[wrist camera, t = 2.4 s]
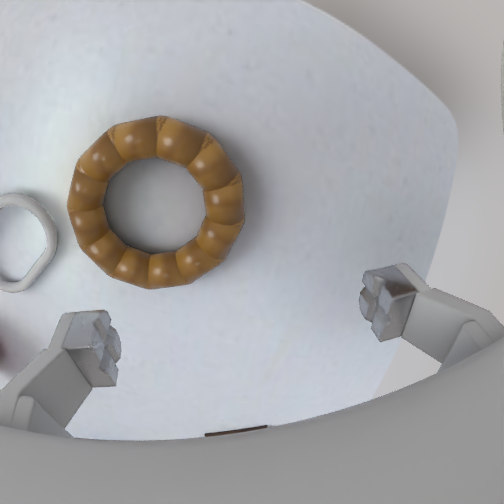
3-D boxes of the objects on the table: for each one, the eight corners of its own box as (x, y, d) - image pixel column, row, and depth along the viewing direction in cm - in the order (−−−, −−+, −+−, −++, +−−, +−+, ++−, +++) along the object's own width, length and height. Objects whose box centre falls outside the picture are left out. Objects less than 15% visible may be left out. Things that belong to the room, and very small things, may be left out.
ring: (234, 105, 15) (239, 106, 13) (246, 263, 20) (252, 283, 19) (61, 138, 14) (45, 145, 12) (102, 283, 19) (94, 302, 17)
